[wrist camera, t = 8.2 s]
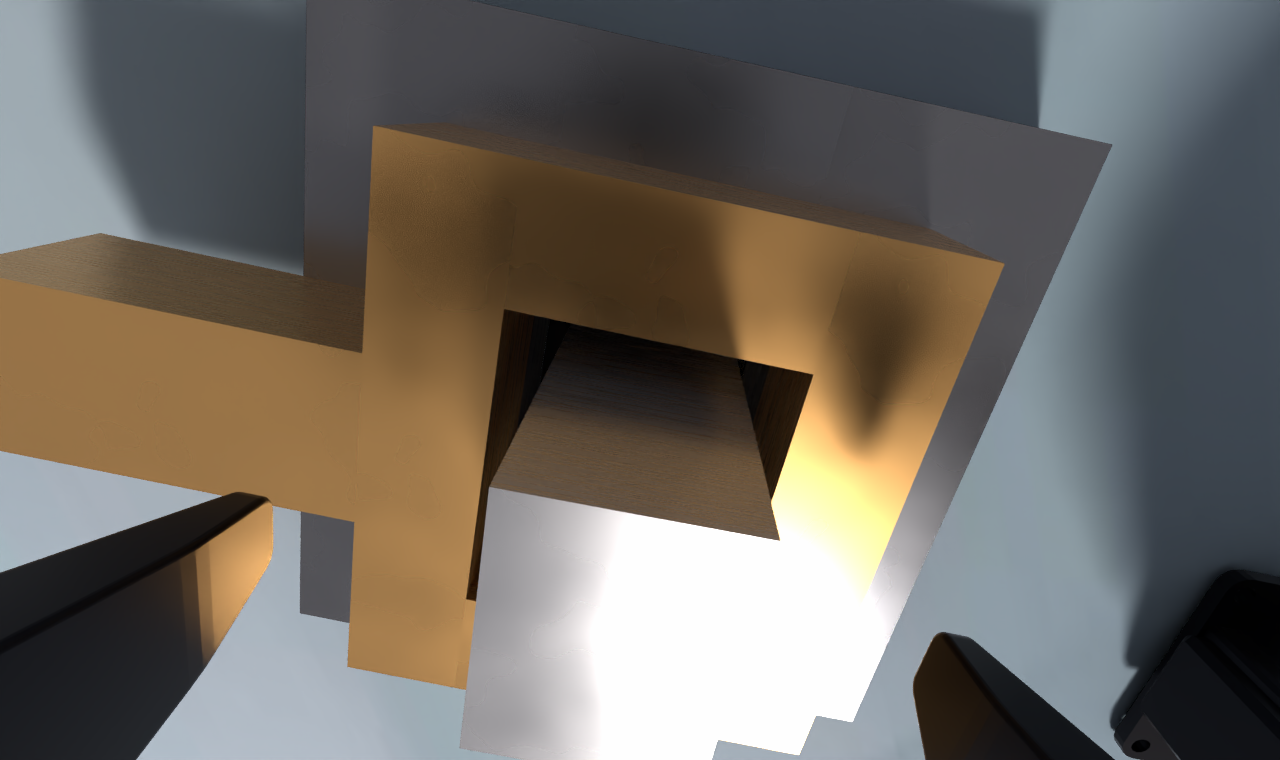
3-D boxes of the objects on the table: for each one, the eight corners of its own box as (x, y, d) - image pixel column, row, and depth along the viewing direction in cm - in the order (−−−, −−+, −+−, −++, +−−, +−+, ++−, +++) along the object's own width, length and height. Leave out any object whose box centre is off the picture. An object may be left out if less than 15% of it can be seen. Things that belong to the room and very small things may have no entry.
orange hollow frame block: (1038, 139, 14) (1251, 154, 9) (830, 647, 19) (886, 843, 14) (172, -55, 13) (-142, -160, 8) (204, 522, 19) (25, 677, 13)
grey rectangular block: (725, 311, 16) (780, 541, 7) (689, 458, 17) (701, 790, 9) (590, 285, 15) (489, 487, 7) (566, 436, 17) (459, 747, 9)
